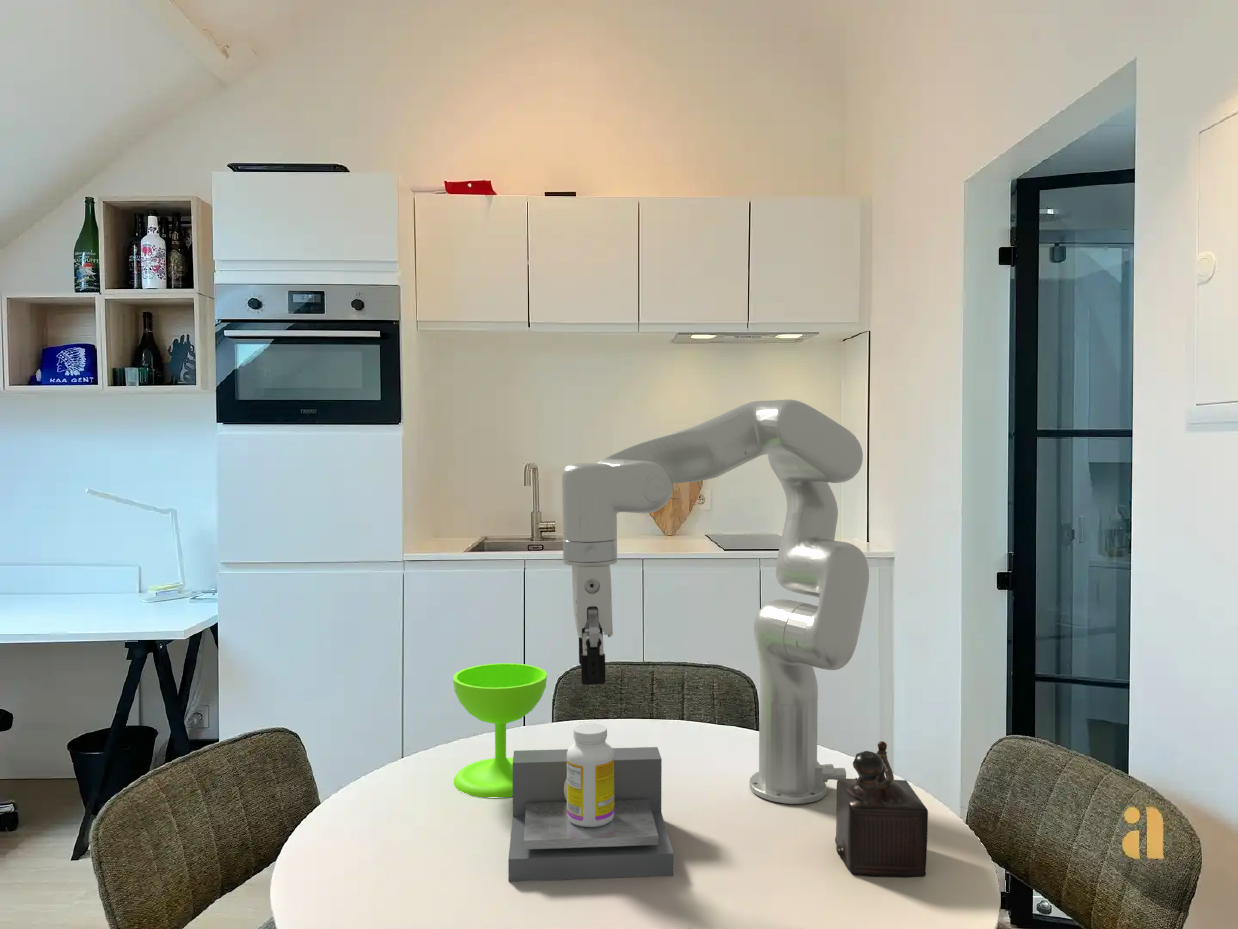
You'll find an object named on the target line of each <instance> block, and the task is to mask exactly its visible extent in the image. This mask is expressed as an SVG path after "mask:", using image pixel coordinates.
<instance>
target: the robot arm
mask: <svg viewBox="0 0 1238 929" xmlns="http://www.w3.org/2000/svg"><path fill="white" fill-rule="evenodd" d="M764 455H767V458H768V462H769V466H770V467H771V470H772V471H773V473H774V475H776V477H777V479H778V480H779V482H780V484H781V487H782V489H783V491H784V495H785V499H786V513H785V521H784V524H783V529H782V535H781V538H780V545H779V549H778V552H777V553H778V554H777V559H776V564H775V577H776V580H777V582H778V584H779V585H780V586H781V588H784V589H786V590H787V591H790V592H792V593H796V594H800V595H805V596H809V597H813V598H814V597H816V598H818V605H815V604H814V605H813V604H811V603H806V602H801V601H796V600H792V599H784V598H783V599H773V600H771V601H769V602H766V603H764V605H762V607H760V609H759V610H758V612H757V613H756V616H755V618H754V623H753V636H754V644H755V647H756V652H757V659H758V668H759V669H758V670H759V705H758V706H759V710H758V711H759V715H758V716H759V718H758V719H759V720H758V721H759V723H758V724H759V725H758V726H759V727H758V728H759V729H758V734H759V735H758V736H759V738H758V739H759V742H758V743H759V744H758V749H759V750H758V771H757V772H756V773H754V774H753V775H751V777H750V778H749V789H750V790H751V791H752V793H754V794H755V795H756V796H758V797H760V798H762V799H764V800H767V801H770V802H775V803H780V804H786V805H787V804H789V805H801V804H802V805H803V804H810V803H814V802H818V801H820V800H822V799H823V798H824V797H825V796H826V794H827V783H828V780H829V781H830V780H833V781H837V780H838V778H845V779H847V771H846V768H845V767H835V766H834V764H833V763H826V764H820V763H819V761H818V712H819V710H818V708H819V706H818V704H819V703H818V699H819V689H818V686H819V685H818V680H817V676H816V672H815V669H814V668H817V669H821V670H826V671H836V670H840V669H842V668H844V667H845V666H847V664H848V663H849V662H850V661H851V660H852V658H853V656H854V653H855V651H856V647H857V644H858V641H859V640H858V639H859V636H860V631H861V626H862V620H863V616H864V611H865V610H864V609H865V605H866V599H867V596H868V589H869V583H870V569H869V564H868V560H867V557H866V556H865V554H864V552H863V551H862V550H861V549H860V548H859V547H858V546H856V545H854V544H852V543H849V542H846V541H840V540H839V541H838V540H835V536H836V532H837V531H836V529H837V525H838V517H839V509H838V504H837V499H836V497H835V495H834V491H833V490H832V488H831V487H830V484H829V483H831V484H833V483H834V484H839V483H845V482H848V481H850V480H852V479H854V478H855V476H857V475H858V473H859V472H860V471H861V467H862V466H863V465H862V464H863V462H864V460H863V455H864V454H863V448H862V445H861V443H860V442H859V440H858V438H857V437H856V435H855V434H854V433H853V432H852V431H850V430H849V429H848V428H846V427H845V426H843V425H841V424H839V423H838V422H837V421H835V420H834V419H832V418H830V417H828V416H827V415H826V414H824V413H823V412H821V411H819V410H818V409H816V408H814V407H813V406H811V405H809V404H807V403H805V402H802V401H800V400H795V399H776V400H775V399H774V400H773V399H772V400H771V399H770V400H755V401H750V402H747V403H744V404H742V405H740V406H737V407H735V408H733V409H730V410H729V411H726V412H725V413H722V414H719V415H718V416H715V417H712V418H711V419H709V420H706V421H704V422H702V423H700V424H697V425H694V426H692V427H688V428H686V429H682V430H678V431H674V432H672V433H670V434H666V435H663V436H660V437H656V438H653V439H650V440H647V441H643V442H640V443H637V444H634V445H632V446H629V447H627V448H624V449H622V450H620V451H618V452H615V453H614V454H611V455H609V456H606V457H603V459H601V460H599V461H598V462H595V463H594V462H593V463H591V462H587V463H585V462H583V463H572V464H568V465H566V467H564V468H563V471H562V473H561V474H562V477H561V478H562V479H561V480H562V481H561V488H562V489H561V491H562V494H561V496H562V497H561V498H562V500H561V501H562V550H563V552H562V553H563V554H562V555H563V556H562V559H563V560H562V564H564V565H566V566H571V570H572V571H571V573H572V575H571V576H572V578H571V580H572V583H571V584H572V585H571V586H572V601H573V603H572V606H573V616H574V622H575V628H576V629H575V630H576V633H577V634H576V635H577V636H578V663H579V665H580V669H581V672H580V674H581V684H582V685H584V686H587V685H604V684H606V653H604V650H605V649H604V635H605V636H607V638H611V637H612V636H613V634H614V632H613V630H614V629H613V602H612V601H613V600H612V599H613V597H612V595H613V594H612V593H613V591H612V573H611V565H615V564H617V563H618V527H617V526H618V517H617V514H619V513H631V514H643V515H644V514H645V515H646V514H651V513H654V512H658V511H660V510H661V509H662V508H663V507H665V506H666V505H667V504H668V502H670V500H671V497H672V495H673V490H674V486H673V485H674V484H675V485H676V484H683V483H697V482H702V481H703V482H704V481H707V480H712V479H716V478H719V477H721V476H723V475H725V474H727V473H728V472H730V471H732V470H734V469H737V468H738V467H741V466H742V465H745V464H747V463H749V462H751V461H753V460H754V459H757V458H759V457H761V456H764Z"/></svg>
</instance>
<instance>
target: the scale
mask: <svg viewBox="0 0 1238 929" xmlns="http://www.w3.org/2000/svg"><path fill="white" fill-rule="evenodd" d="M568 749H569V748H568ZM568 749H567V748H566V749H564V748H563V749H562V748H561V749H533V750H531V749H530V750H529V749H528V750H526V749H523V750H521V749H520V750H513V756H512V758H513V797H512V818H511V819H512V821H511V830H510V841H509V851H508V861H507V862H508V866H507V867H508V868H507V869H508V870H507V871H508V878H507V879H508V882H527V881H530V882H531V881H535V882H536V881H555V880H580V879H581V880H585V879H610V878H612V879H613V878H634V877H635V878H636V877H637V878H639V877H640V878H641V877H660V876H661V877H664V876H665V877H666V876H667V877H668V876H674V851H673V847H672V844H671V840H670V837H669V834H668V829H667V827H666V824H665V820H664V816H663V813H662V772H663V771H662V767H663V766H662V760H663V759H662V757H661V754H660V750H659V748H658V746H651V747H650V746H645V747H644V746H643V747H612V749H613V751H614V800H639V799H648V800H649V803H650V807H651V811H652V814H653V818H654V822H655V826H656V829H657V833H658V845H639V846H609V847H580V848H551V849H524V829H525V814H526V803H539V802H567V751H568Z"/></svg>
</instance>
